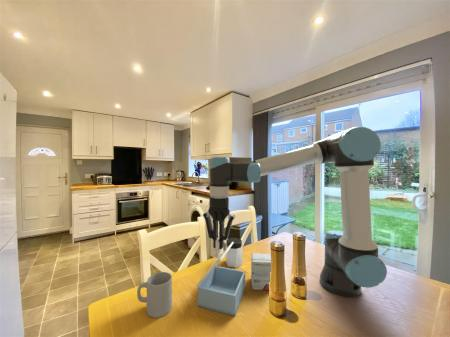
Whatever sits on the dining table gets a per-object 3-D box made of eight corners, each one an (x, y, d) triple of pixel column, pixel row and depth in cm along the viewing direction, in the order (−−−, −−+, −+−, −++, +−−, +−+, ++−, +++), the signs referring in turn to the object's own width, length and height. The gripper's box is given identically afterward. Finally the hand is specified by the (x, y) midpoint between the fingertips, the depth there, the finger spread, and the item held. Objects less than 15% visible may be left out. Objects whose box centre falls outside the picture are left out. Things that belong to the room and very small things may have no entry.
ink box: (270, 279, 87) (270, 253, 87) (272, 291, 79) (273, 262, 79) (250, 277, 88) (251, 252, 88) (251, 289, 80) (251, 261, 79)
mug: (174, 300, 73) (174, 271, 73) (168, 317, 65) (168, 285, 64) (141, 301, 72) (141, 272, 72) (132, 319, 64) (132, 286, 64)
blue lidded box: (245, 288, 81) (245, 271, 81) (235, 316, 65) (235, 295, 65) (214, 281, 85) (214, 265, 85) (197, 306, 70) (197, 287, 70)
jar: (233, 269, 95) (233, 245, 95) (222, 263, 101) (222, 240, 100) (245, 263, 101) (245, 240, 101) (234, 257, 107) (234, 236, 107)
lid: (234, 242, 82) (232, 241, 82) (221, 260, 67) (219, 259, 67) (214, 264, 85) (213, 263, 85) (197, 286, 70) (196, 285, 70)
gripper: (237, 196, 77) (236, 255, 77) (207, 194, 81) (206, 249, 81) (232, 199, 70) (231, 264, 70) (199, 196, 74) (199, 257, 74)
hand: (218, 256), depth 76 cm, fingers closed
